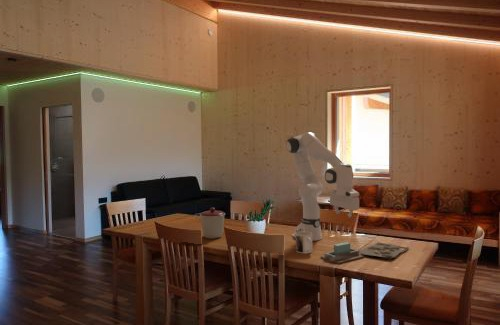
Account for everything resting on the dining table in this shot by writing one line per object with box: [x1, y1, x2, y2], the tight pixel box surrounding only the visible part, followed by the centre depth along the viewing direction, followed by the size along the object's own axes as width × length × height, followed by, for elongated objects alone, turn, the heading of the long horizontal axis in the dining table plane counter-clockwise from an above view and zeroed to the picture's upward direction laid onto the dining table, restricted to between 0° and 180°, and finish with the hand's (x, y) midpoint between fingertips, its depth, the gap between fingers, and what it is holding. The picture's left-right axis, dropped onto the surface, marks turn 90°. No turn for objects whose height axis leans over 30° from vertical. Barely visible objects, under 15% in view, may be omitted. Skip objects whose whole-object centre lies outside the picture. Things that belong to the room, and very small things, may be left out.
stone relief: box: [359, 241, 410, 261], centre depth 234 cm, size 32×3×20 cm
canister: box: [199, 207, 226, 240], centre depth 277 cm, size 18×18×21 cm
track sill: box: [320, 247, 365, 265], centre depth 224 cm, size 14×20×4 cm
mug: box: [295, 232, 314, 254], centre depth 237 cm, size 10×12×11 cm
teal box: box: [333, 241, 351, 255], centre depth 224 cm, size 3×10×7 cm, turn 123°
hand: (343, 215), depth 228 cm, fingers open, 8 cm apart
